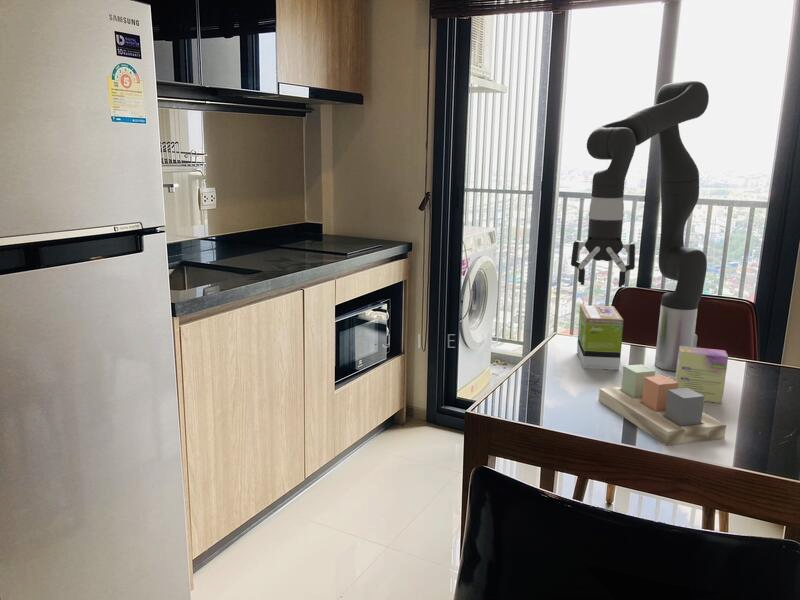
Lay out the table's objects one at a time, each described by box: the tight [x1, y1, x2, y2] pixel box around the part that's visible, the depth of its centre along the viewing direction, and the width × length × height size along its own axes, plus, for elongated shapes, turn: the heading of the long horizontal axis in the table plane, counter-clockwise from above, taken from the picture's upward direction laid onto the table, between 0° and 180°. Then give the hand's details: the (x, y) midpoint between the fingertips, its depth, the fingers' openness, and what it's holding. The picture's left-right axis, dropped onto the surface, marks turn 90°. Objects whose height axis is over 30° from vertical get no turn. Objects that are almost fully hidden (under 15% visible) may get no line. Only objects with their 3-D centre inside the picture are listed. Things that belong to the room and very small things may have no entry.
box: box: [674, 346, 729, 404], centre depth 158 cm, size 10×6×12 cm, turn 71°
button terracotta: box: [642, 375, 679, 412], centre depth 145 cm, size 5×5×6 cm
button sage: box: [620, 363, 656, 399], centre depth 152 cm, size 5×5×6 cm
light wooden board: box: [598, 386, 727, 446], centre depth 146 cm, size 14×25×3 cm, turn 15°
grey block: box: [665, 388, 705, 427], centre depth 137 cm, size 5×5×6 cm
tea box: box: [576, 304, 624, 371], centre depth 183 cm, size 15×10×15 cm, turn 172°
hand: (601, 285), depth 155 cm, fingers open, 8 cm apart
